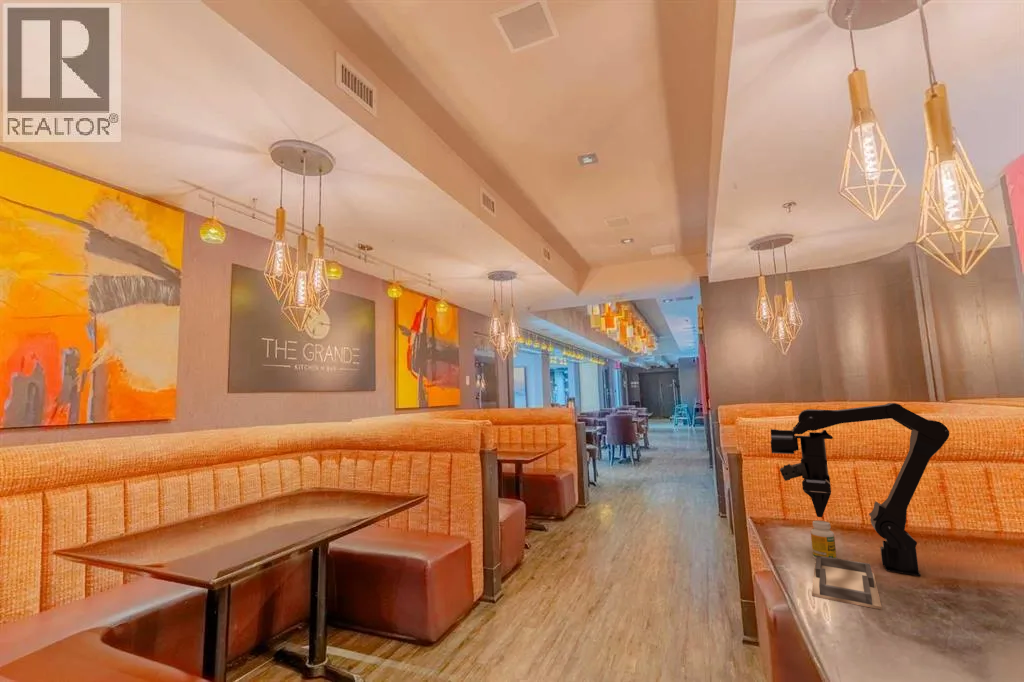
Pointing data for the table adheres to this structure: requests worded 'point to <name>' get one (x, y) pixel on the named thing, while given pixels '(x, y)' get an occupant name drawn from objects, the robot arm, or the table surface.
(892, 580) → the table surface
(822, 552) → the supplement bottle
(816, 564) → the grey flat frame
